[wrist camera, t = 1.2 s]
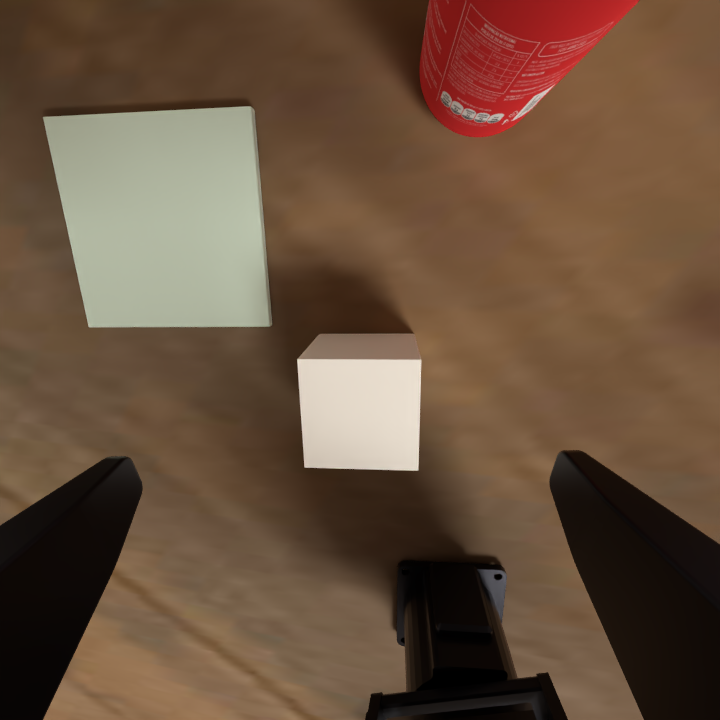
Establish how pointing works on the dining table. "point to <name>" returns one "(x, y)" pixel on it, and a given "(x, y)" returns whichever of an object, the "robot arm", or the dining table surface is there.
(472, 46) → the beverage can
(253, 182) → the pad
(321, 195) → the dining table surface
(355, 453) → the cube
